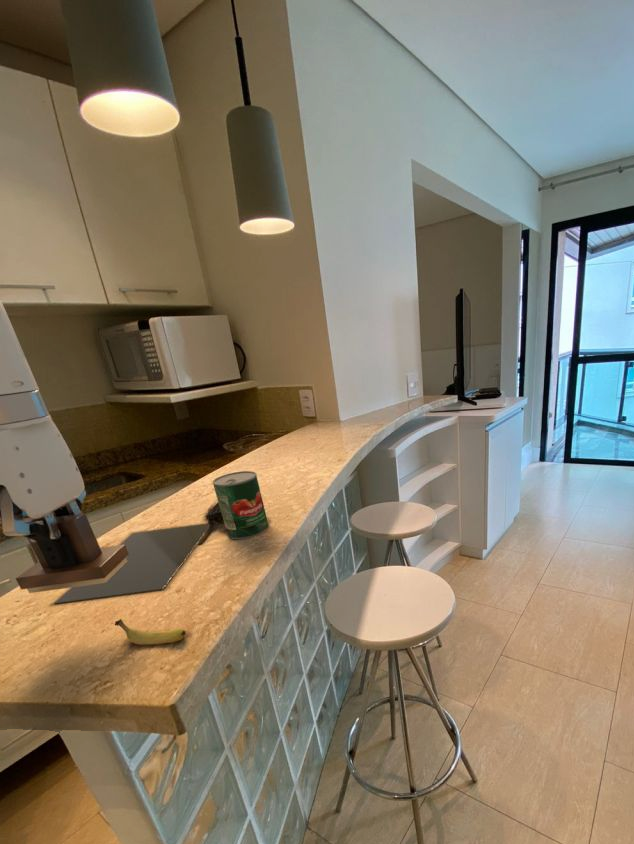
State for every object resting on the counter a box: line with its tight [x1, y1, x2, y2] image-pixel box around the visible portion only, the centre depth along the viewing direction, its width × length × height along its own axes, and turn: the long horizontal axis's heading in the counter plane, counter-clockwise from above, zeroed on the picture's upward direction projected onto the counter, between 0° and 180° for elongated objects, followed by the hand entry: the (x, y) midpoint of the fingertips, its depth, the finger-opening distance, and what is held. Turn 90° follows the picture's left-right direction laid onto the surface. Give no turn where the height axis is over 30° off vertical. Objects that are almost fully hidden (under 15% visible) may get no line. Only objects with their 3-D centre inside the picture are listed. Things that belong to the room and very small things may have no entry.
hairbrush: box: [205, 498, 223, 521], centre depth 94 cm, size 8×4×25 cm
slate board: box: [53, 522, 214, 605], centre depth 72 cm, size 16×24×1 cm, turn 4°
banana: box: [114, 618, 186, 646], centre depth 49 cm, size 8×2×4 cm, turn 87°
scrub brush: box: [15, 512, 129, 594], centre depth 51 cm, size 10×6×8 cm, turn 94°
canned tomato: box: [212, 470, 270, 541], centre depth 78 cm, size 8×8×11 cm
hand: (72, 559), depth 51 cm, fingers closed on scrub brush, 2 cm apart
